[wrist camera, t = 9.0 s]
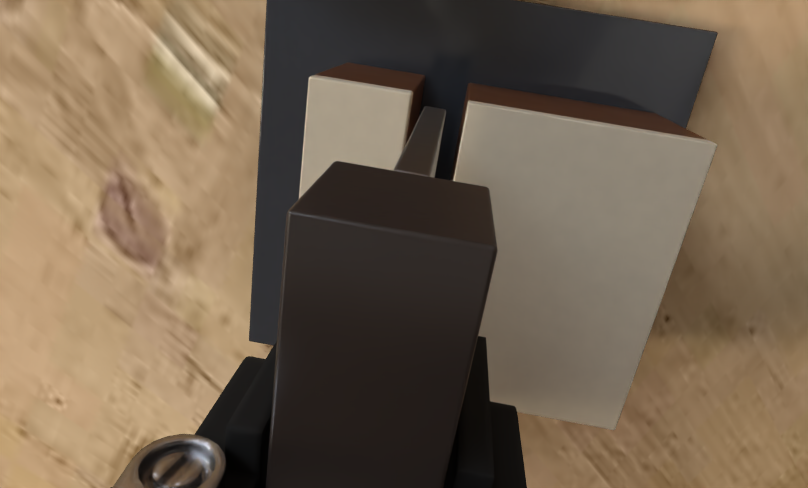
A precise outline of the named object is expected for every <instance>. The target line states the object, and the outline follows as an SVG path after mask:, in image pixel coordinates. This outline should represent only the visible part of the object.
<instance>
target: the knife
mask: <svg viewBox="0 0 808 488" xmlns="http://www.w3.org/2000/svg"><path fill="white" fill-rule="evenodd" d="M445 115H446V110H444V109H440V108H434V107H428V106H425V107H424V109H423V111H422V113H421V115H420V117H419V119H418V121H417V123H416V125H415V127H414V129H413V131H412V133H411V135H410V137H409V139H408V141H407V143H406V145H405V147H404V149H403V151H402V153H401V155H400V157H399V160H398V162H397V164H396V166H395V168H394V170H387V169H381V168H375V167H370V166H364V165H358V164H352V163H347V162H341V161H335V162H333V163H332V164H331V165H330V167H329V168H328V169H327V170H326V171H325V172H324V173H323V174H322V175H321V176H320V177H319V178H318V179H317V180H316V181H315V182H314V184H313V185H312V186H311V187H310V188H309V189H308V190H307V191H306V192H305V193H304V194H303V195H302V196H301V197H300V198H299V199H298V201H297V202H296V203H295V204H294V205H293V206H292V207H291V208H290V209H289V210H288V212H287V218H286V231H285V244H284V257H283V270H282V283H281V296H280V309H279V322H278V335H277V348H276V361H275V374H274V387H273V400H272V413H271V426H270V439H269V452H268V465H267V478H266V488H443V486H444V482H445V478H446V473H447V469H448V465H449V460H450V456H451V452H452V447H453V443H454V439H455V434H456V430H457V426H458V421H459V417H460V412H461V408H462V404H463V399H464V395H465V391H466V386H467V382H468V378H469V373H470V369H471V365H472V360H473V356H474V352H475V347H476V343H477V339H478V334H479V330H480V326H481V321H482V317H483V313H484V308H485V304H486V300H487V295H488V291H489V287H490V282H491V278H492V274H493V269H494V265H495V261H496V256H497V252H498V250H497V242H496V235H495V227H494V220H493V212H492V205H491V197H490V191H489V188H487V187H485V186H479V185H473V184H468V183H462V182H456V181H450V180H445V179H439V178H435V172H436V166H437V161H438V155H439V149H440V144H441V138H442V132H443V127H444V121H445Z"/></svg>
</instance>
